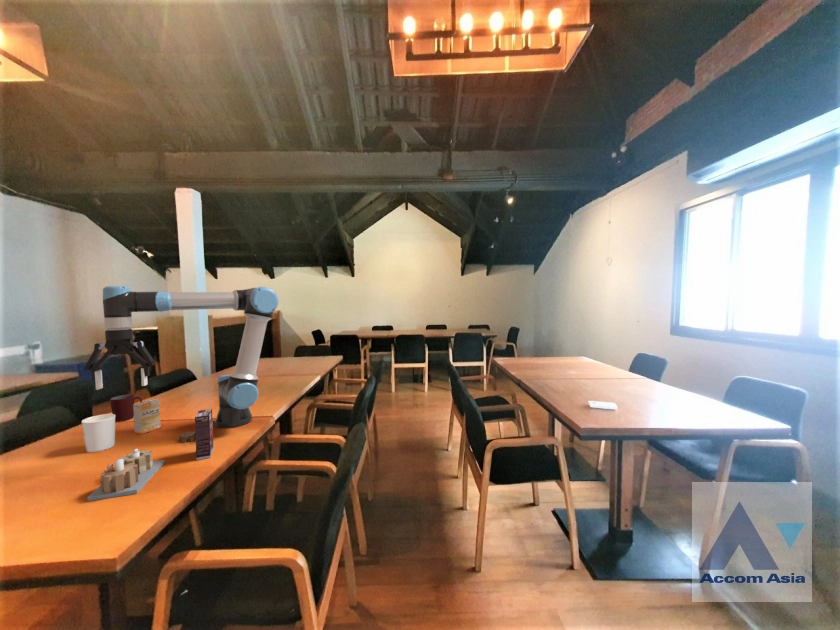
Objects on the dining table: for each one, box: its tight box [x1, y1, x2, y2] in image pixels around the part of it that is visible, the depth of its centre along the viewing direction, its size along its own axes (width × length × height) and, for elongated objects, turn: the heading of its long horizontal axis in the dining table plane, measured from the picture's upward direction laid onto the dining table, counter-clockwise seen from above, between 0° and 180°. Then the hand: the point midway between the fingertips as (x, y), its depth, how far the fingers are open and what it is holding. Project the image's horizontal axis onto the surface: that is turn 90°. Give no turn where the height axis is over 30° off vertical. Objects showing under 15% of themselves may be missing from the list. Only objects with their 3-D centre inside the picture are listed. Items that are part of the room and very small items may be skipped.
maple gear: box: [118, 449, 153, 474], centre depth 114 cm, size 8×8×5 cm
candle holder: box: [81, 413, 116, 453], centre depth 135 cm, size 10×10×12 cm
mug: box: [109, 394, 143, 423], centre depth 168 cm, size 12×9×11 cm
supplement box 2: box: [194, 408, 215, 461], centre depth 128 cm, size 9×5×16 cm, turn 25°
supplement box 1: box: [133, 399, 161, 435], centre depth 152 cm, size 8×5×13 cm, turn 161°
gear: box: [178, 430, 196, 444], centre depth 142 cm, size 6×6×2 cm
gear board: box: [86, 448, 165, 502], centre depth 110 cm, size 12×20×9 cm, turn 17°
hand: (122, 387), depth 124 cm, fingers open, 13 cm apart
